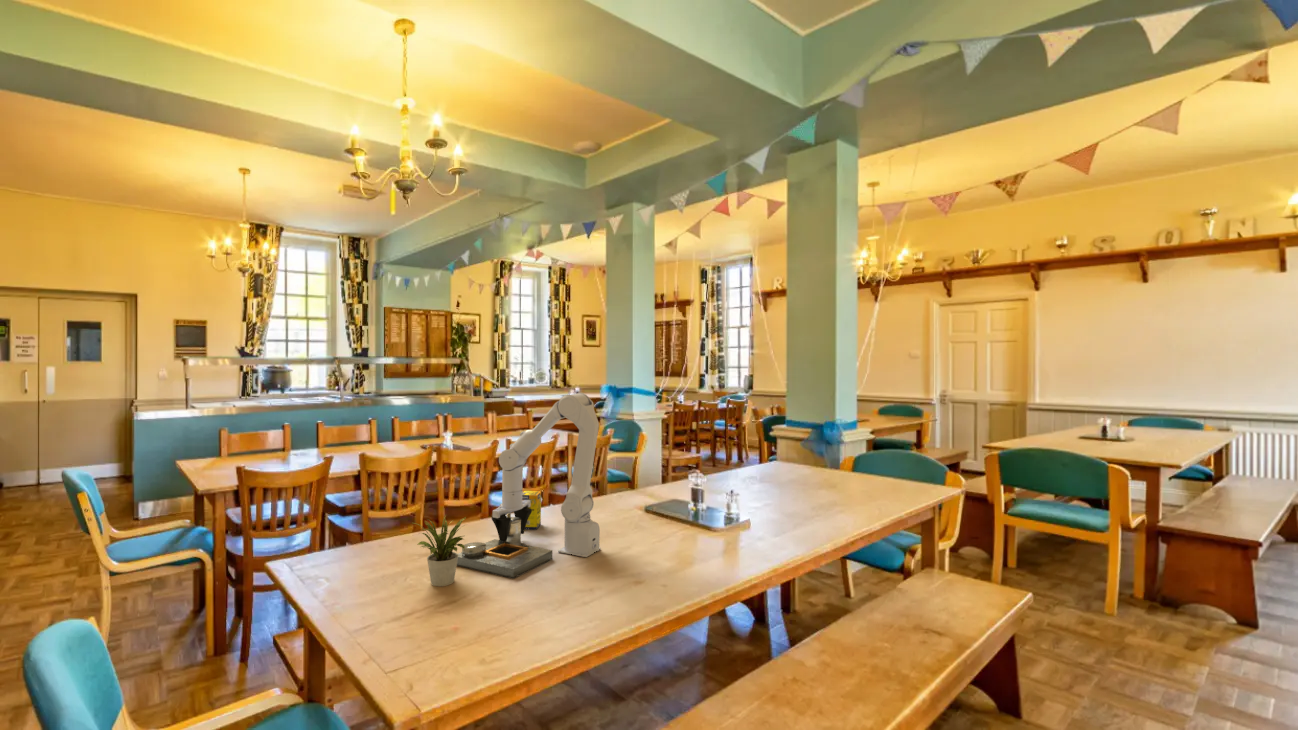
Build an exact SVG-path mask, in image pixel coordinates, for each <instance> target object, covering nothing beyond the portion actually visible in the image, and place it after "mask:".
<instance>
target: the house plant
mask: <svg viewBox="0 0 1298 730" xmlns="http://www.w3.org/2000/svg"><path fill="white" fill-rule="evenodd" d="M446 517H447V514H445V515H444V517H443V520H442V522H441V523H442V525H441V530H440V533H439V534H438V532H437V530H436V529H437V528H436V526H435V524H434V522H433V520H430V519H428V518H427V521H426V520H424V524H425V525H426V526H427V528H424V527H423V526H422V525H421V524H419V523H415V522H413V524H416V525H418V526H420V527H421V528H422V531H425V532H426V533H425V532H420V533H418V535H419V534H421V535H422V534H423V535H424V536H425V537H426V538H427V539H428V541H429V542H430V543H429V542H427V541H423V540H422V541H419V542H418V543H417V545H418V546H419V545H421V546H420V548H423V549H424V548H427V549H428V550H429V551H430V554H429V555H427V557H426V560H427V566H428V572H429V578H430V584H431V585H432V586H433V587H445V586H449V585H451V584H453V583H454V581H455V577H456V570H457V567H458V566H457V560H458V547H460V548H461V549H462V548H463V549H464V548H465V546H464V544H463V543H459V542H461V541H462V540H465V539H464V538H463V537H464V535H460V536H455V535H456V533H457V532H458V531H459V530H460V529H461V528H462V527H465V526H467V525H469V524H464V525H462V526H461V524H462V523H463V521H465V519H467V516H465V517H463V518H461V519H460V520H459V521H458V522H457V523H456V524H455V526H454V527H453V528H452V529H451V530H450V531H449V529H448V528H449V527H448V526H450V524H451V523H452V522H453V520H452V521H450V522H449V523H448V521H447V518H446ZM428 521H429V522H430V523H431V524H432V525H431V524H430V523H429V522H428ZM448 532H449V533H448ZM429 533H430V534H431V535H432V536H431V535H430V534H429ZM447 535H448V536H447ZM432 537H433V538H434V539H433V538H432ZM457 546H458V547H457ZM453 550H454V551H453ZM464 551H465V550H464Z"/></svg>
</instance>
